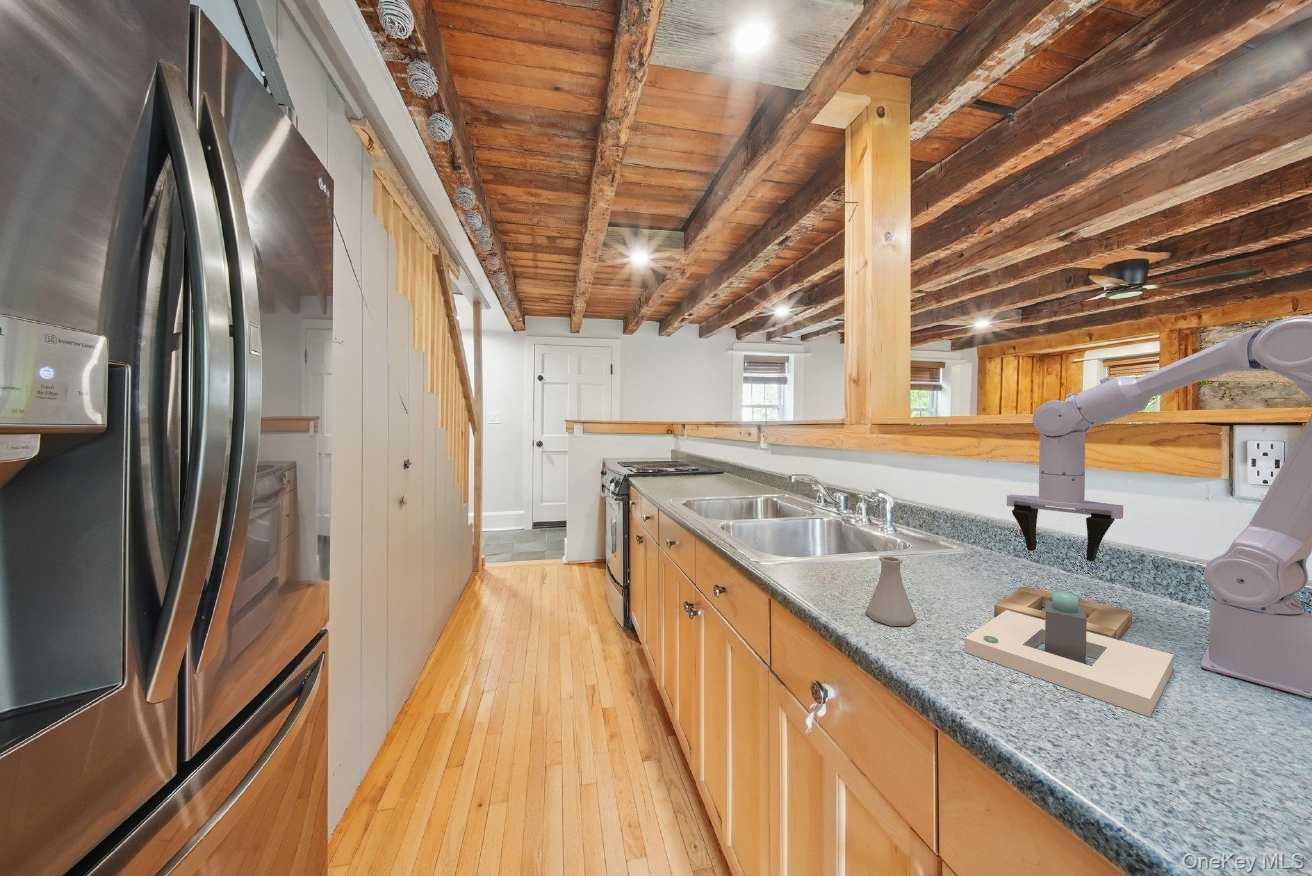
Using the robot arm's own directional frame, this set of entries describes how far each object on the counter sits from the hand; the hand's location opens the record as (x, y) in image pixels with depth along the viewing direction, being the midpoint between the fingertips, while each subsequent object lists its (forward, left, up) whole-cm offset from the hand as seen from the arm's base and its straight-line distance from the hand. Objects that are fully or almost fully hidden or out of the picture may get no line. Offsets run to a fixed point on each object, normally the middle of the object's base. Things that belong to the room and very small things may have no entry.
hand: (1060, 554), depth 77 cm
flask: (+16, +24, -10) cm, 31 cm away
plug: (-5, +19, -10) cm, 22 cm away
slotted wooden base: (-1, +3, -10) cm, 10 cm away
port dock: (-5, +19, -10) cm, 22 cm away
